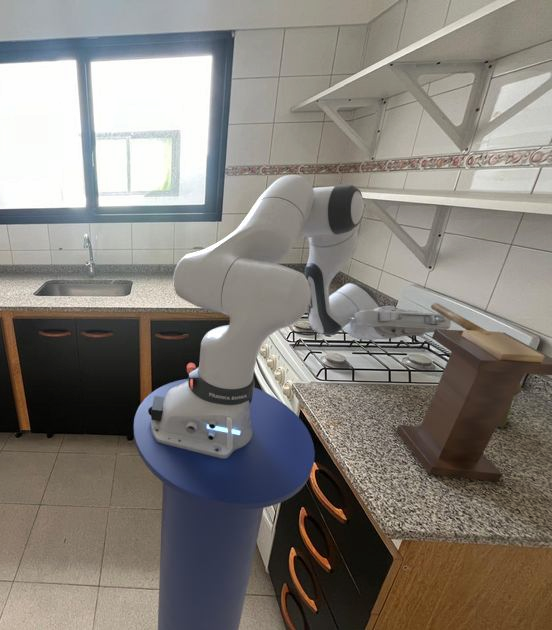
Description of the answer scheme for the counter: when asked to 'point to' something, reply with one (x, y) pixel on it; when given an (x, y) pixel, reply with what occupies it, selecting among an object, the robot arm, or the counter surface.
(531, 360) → the spatula
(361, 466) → the counter surface
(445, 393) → the stand
